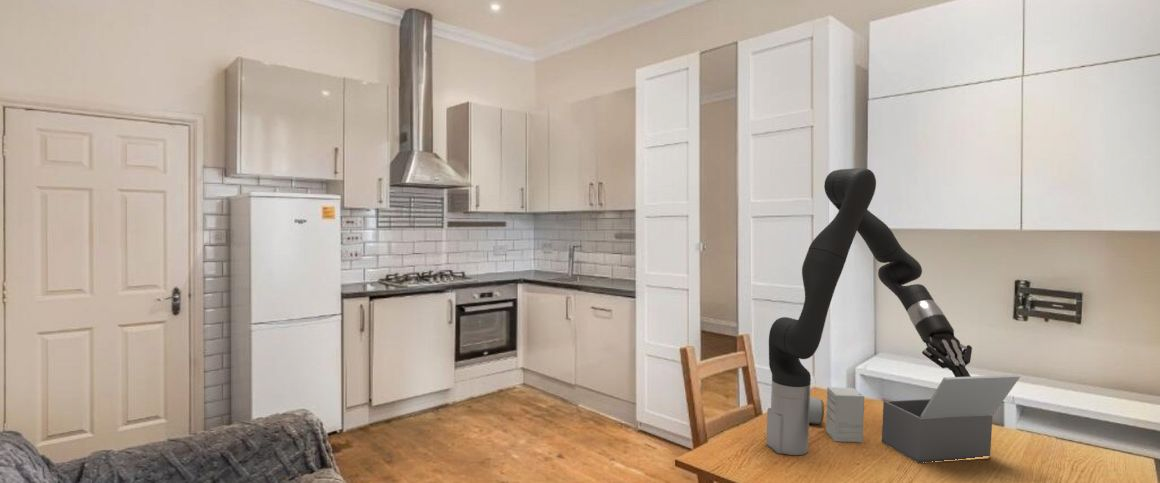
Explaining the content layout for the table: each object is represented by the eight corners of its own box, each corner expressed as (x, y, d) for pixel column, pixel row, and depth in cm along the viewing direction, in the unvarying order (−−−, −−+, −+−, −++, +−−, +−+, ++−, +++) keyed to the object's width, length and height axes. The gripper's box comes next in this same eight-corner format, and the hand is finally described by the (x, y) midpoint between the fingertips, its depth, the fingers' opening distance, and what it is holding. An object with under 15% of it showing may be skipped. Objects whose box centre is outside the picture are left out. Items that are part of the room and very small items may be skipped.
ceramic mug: (824, 428, 160) (825, 401, 159) (793, 424, 162) (794, 398, 162) (819, 416, 170) (820, 390, 170) (790, 413, 172) (791, 387, 172)
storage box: (918, 463, 138) (920, 418, 137) (881, 442, 150) (883, 401, 150) (990, 458, 141) (992, 415, 140) (947, 438, 154) (949, 398, 153)
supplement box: (852, 432, 157) (854, 387, 156) (863, 443, 149) (865, 396, 149) (824, 431, 158) (826, 386, 157) (834, 441, 150) (836, 394, 149)
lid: (920, 415, 137) (921, 417, 137) (943, 377, 130) (945, 379, 130) (991, 412, 141) (993, 414, 140) (1018, 374, 134) (1020, 376, 133)
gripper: (914, 313, 144) (951, 375, 132) (960, 312, 146) (1000, 373, 134) (899, 330, 149) (932, 390, 138) (943, 329, 151) (980, 388, 140)
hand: (966, 382), depth 136 cm, fingers closed
